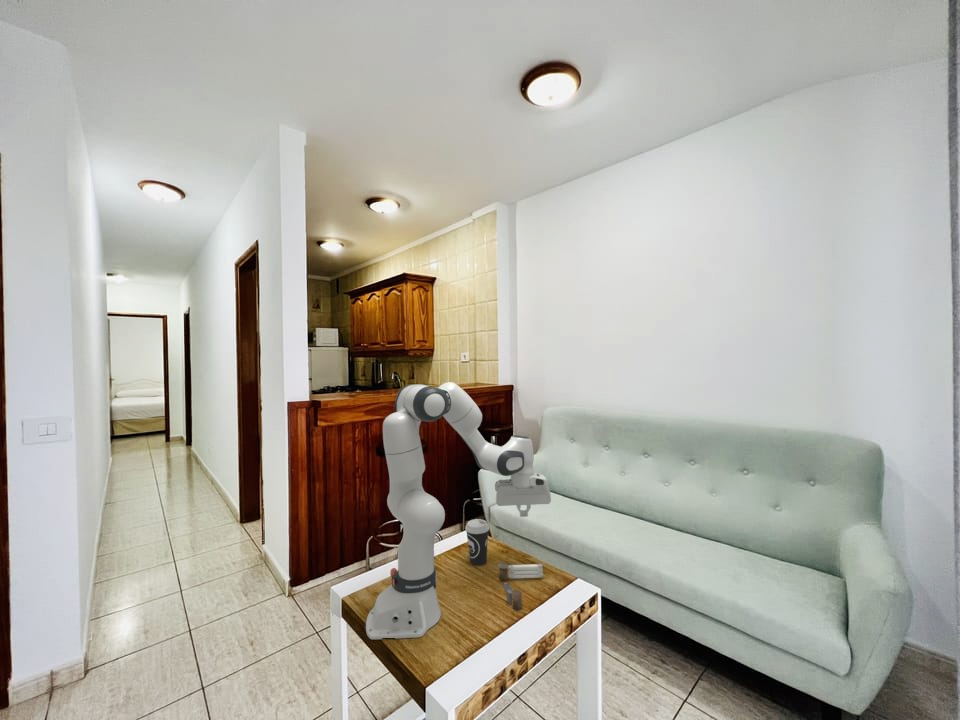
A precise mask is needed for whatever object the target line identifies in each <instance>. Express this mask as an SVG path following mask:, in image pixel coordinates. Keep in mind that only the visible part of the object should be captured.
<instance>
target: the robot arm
mask: <svg viewBox="0 0 960 720" xmlns="http://www.w3.org/2000/svg"><path fill="white" fill-rule="evenodd" d="M392 411H393V413H390V414H389V415H387V416H386V417H385V419H384V420H383V423H382V440H383V448H384V454H385V455H384V456H385V459H386V464H387V465H386V466H387V469H388V470H387V471H388V475H389V476H388V477H389V493H388V495H387V499H386V503H387V504H386V505H387V507H388V509H389V511H390V513H391V514H392V516H393V517H394V518H395V519H397V521H399V522H401V524H402V526H403V535H402V540H401V541H400V543H399V544H398V546H397V568H396V567H392V568H391V569H390V577H391V584H389V586H387V588H386V587H385V588H386V589H384V590H382V592H380V593H379V594H378V595H377V598H376V600H375V604H374V607H373V608H372V609H371V610H370V611H369V612H368V615H367V617H366V620H365V621H366V622H365V632H366V633H365V634H366V635H367V637H368V638H369V639H370V640H383V639H382V638H395V639H411V638H421V637H423V636H424V635H425V634H426V633H427V631H428V630H429V629H431V628H433V627H434V626H435V625H436V624H437V623H438V622H439V620H440V619H441V616H442V610H441V607H440V605H439V600H438V595H437V589H436V588H437V570H436V566H435V554H434V553H435V540H436V536H437V533H438V532H439V531H440V530H441V528H442V526H443V525H444V522H445V518H446V517H445V516H446V513H445V511H446V510H445V509H444V506H443V505H442V504H441V503H440V502H439V499H437V498H436V497H434V496H433V495H431V494H429V493H427V492H426V491H425V490H424V487H423V474H424V472H425V470H426V464H425V463H426V462H425V458H424V457H425V456H424V453H423V447H422V442H421V437H420V426H421V424H422V423H421V422H426V423H429V422H435V421H437V420H440V419H441V418H442V417H443V418H444V419H445V421H446V422H447V423H448V424H449V425H450V426H451V427H452V428H453V430H455V431H456V432H457V434H458V435H460V437H461V439H462V440H463V442H465V444H466V445H467V446H468V448H469V449H470V451H471V453H472V454H473V456H474V460H475V462H476V465H477V466H478V467H479V468H480V469H481V470H484V471H488V472H492V473H494V474H497V475H499V476H503V477H510V479H509V478H507V479H498V481H496V482H495V483H494V490H495V492H496V495H495V496H496V497H495V499H496V500H495V502H496V505H497V506H498V507H504V506H507V507H509V506H510V507H511V506H516V508H517V510H518V512H519V517H520V518H525V517H529V512H530V510H531V506H533V505H534V506H536V505H549V504H550V503H551V502H552V498H551V497H552V496H551V489H550V488H549V486H548V480H547V477H546V476H545V475H543V474H542V473H538V472H535V469H534V465H533V464H534V461H535V459H534V455H535V454H534V447H533V446H534V445H533V442H532V439H531V438H530V437H528V436H525V435H520V434H519V435H518V434H515V435H512V436H511V437H510V438H509V440H508V441H507V442H506V443H505V444H504V445H500V446H499V445H496V444H493V443H490V442H488V441H487V440H485V438H484V437H483V435H482V434H481V432H480V431H479V430H478V428H479V427H480V426H481V423H482V422H483V413H482V411H481V409H480V408H479V406H478V405H477V403H476V402H475V401H474V400H473V399H472V397H470V395H469V394H468V393H467V392H466V391H465V390H464V389H462V388H461V387H460V386H459V385H458V383H457V384H456V382H453V381H448V382H444V383H442V384H440V385H439V386H438V387H436V386H432V385H431V386H429V385H426V384H422V383H421V384H419V383H418V384H414V383H413V384H412V383H411V384H408V385H407V384H406V385H405V386H403V387H402V388H401V389H399V391H398V392H397V393H396V397H395V402H394V405H393V409H392ZM521 506H526V508H525V510H523V509H521V508H522V507H521ZM372 613H373V614H372Z"/></svg>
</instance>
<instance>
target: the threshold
mask: <svg viewBox="0 0 960 720" xmlns="http://www.w3.org/2000/svg"><path fill="white" fill-rule="evenodd" d="M502 588H503V589H504V591H505V593H506V594H507V590H511V592H512V601H513V591H514V590H513V588H512V586H511V584H510V583H504V584H503V583H502Z"/></svg>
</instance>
